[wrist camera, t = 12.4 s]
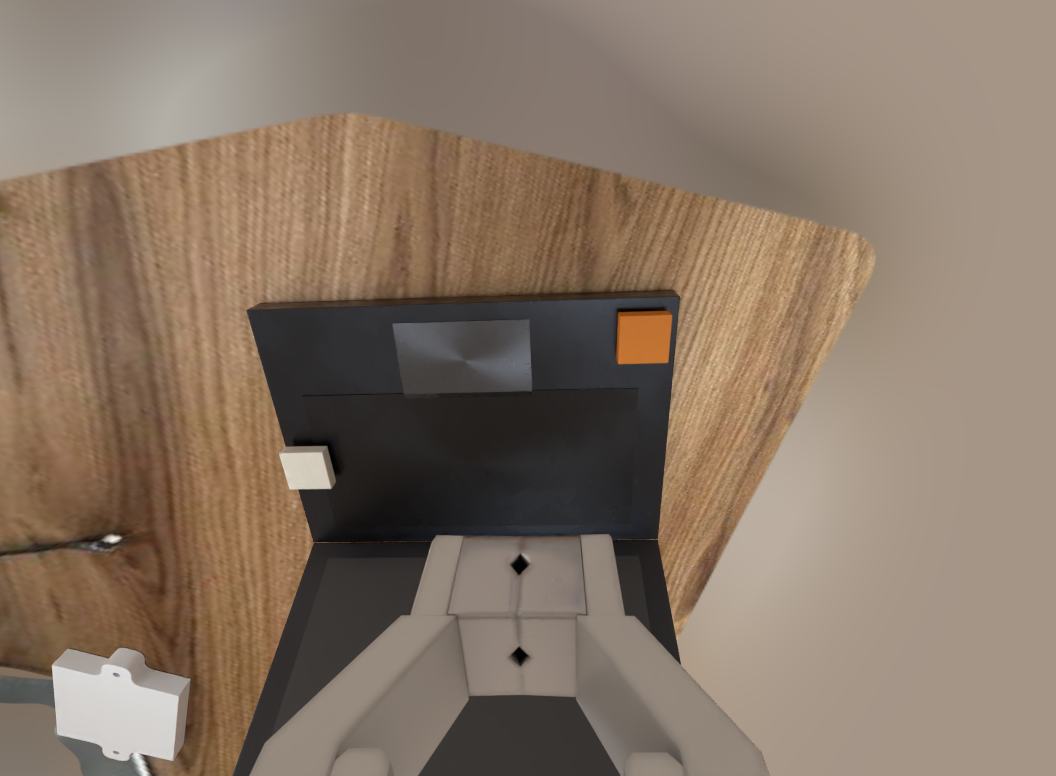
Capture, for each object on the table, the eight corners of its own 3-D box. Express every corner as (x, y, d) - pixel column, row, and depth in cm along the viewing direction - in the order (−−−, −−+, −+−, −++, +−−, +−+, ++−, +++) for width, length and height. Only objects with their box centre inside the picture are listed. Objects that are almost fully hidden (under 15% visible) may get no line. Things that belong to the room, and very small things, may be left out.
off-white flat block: (284, 446, 38) (278, 453, 37) (327, 445, 38) (322, 452, 37) (295, 482, 40) (289, 489, 39) (336, 481, 39) (331, 489, 39)
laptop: (259, 303, 36) (245, 310, 34) (673, 289, 34) (680, 296, 33) (321, 528, 45) (312, 543, 43) (653, 524, 43) (658, 539, 42)
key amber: (617, 312, 33) (620, 316, 32) (668, 310, 33) (672, 314, 32) (616, 359, 34) (618, 364, 33) (665, 357, 34) (668, 363, 33)
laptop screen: (194, 881, 28) (202, 881, 29) (724, 893, 27) (720, 893, 27) (313, 542, 43) (317, 547, 44) (657, 539, 42) (656, 544, 42)
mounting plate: (182, 754, 61) (171, 772, 59) (73, 729, 59) (58, 746, 57) (192, 664, 53) (180, 681, 51) (67, 633, 52) (50, 649, 50)
